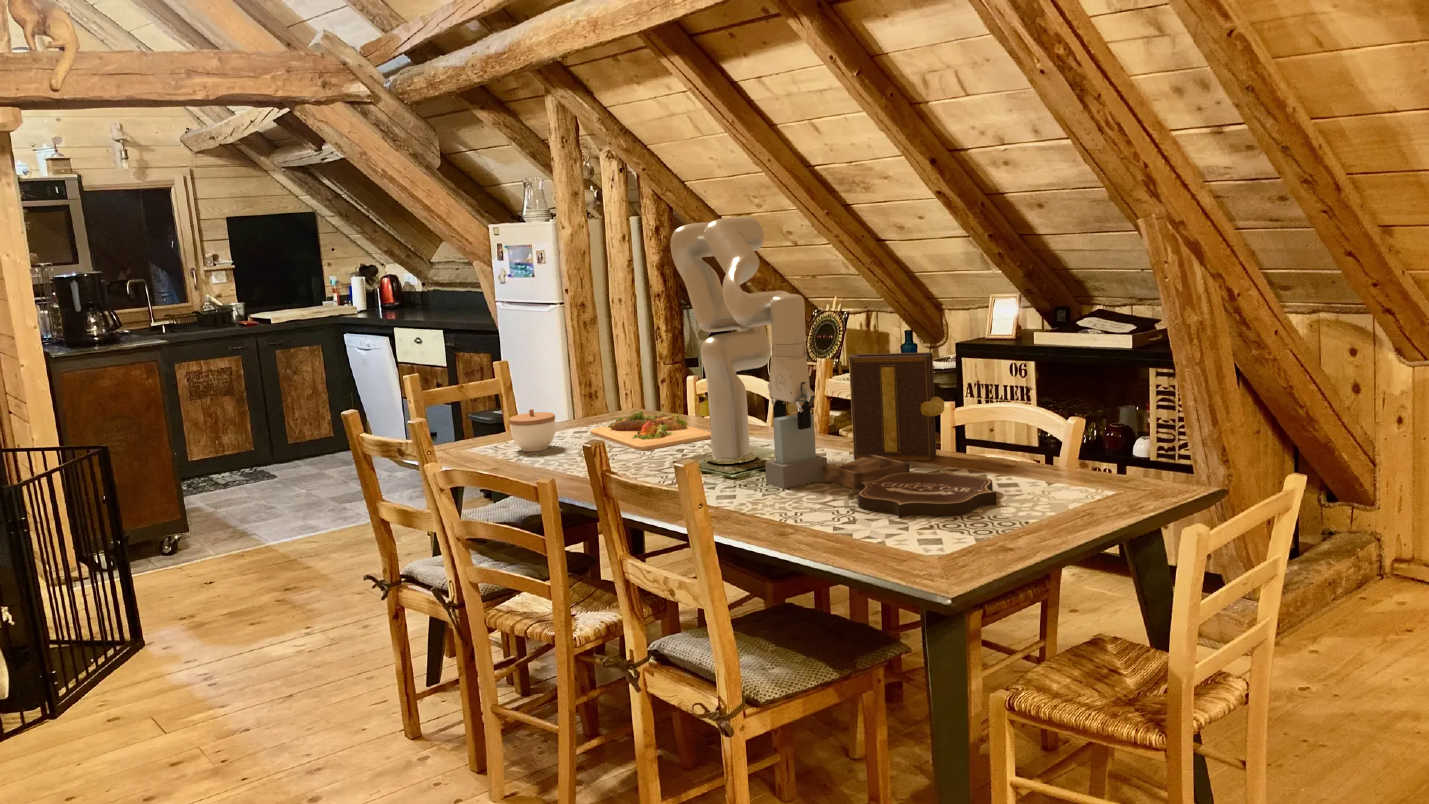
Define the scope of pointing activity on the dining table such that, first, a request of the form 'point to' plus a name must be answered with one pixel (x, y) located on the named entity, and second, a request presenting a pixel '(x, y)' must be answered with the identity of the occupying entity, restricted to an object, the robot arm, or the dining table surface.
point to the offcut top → (862, 464)
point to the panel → (793, 440)
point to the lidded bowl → (533, 430)
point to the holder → (795, 472)
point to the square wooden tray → (853, 478)
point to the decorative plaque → (926, 494)
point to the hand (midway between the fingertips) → (792, 424)
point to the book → (894, 406)
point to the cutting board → (650, 431)
